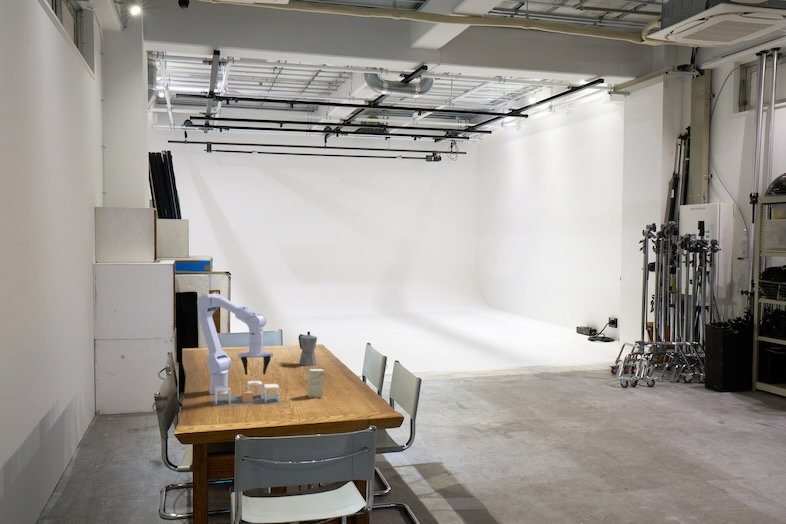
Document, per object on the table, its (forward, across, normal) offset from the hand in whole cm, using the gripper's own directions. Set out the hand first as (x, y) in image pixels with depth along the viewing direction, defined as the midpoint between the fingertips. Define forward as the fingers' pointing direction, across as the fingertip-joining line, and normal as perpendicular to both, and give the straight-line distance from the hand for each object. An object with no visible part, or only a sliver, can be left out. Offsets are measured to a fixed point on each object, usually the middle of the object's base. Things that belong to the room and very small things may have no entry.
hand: (255, 374), depth 285 cm
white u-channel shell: (+10, 0, 0) cm, 10 cm away
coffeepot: (+11, +37, +69) cm, 79 cm away
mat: (+10, -4, -4) cm, 12 cm away
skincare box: (+11, +26, -3) cm, 28 cm away
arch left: (+10, -14, -7) cm, 18 cm away
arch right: (+10, +6, -7) cm, 13 cm away
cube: (+10, -4, -7) cm, 13 cm away
